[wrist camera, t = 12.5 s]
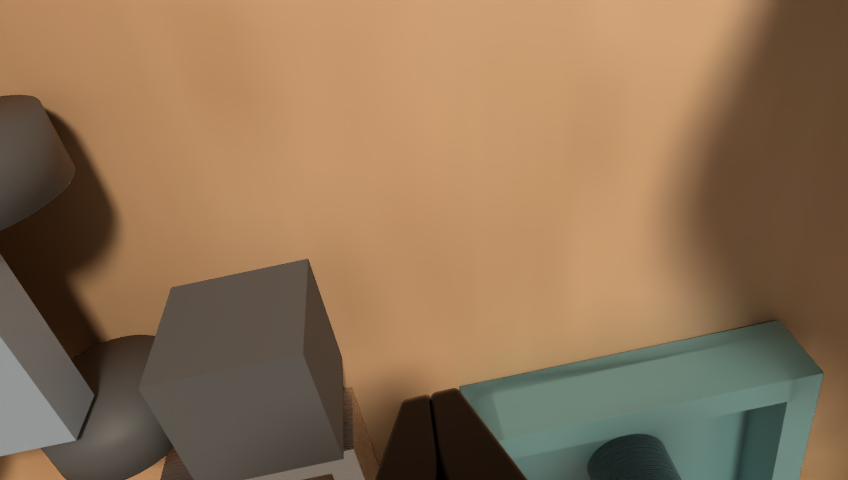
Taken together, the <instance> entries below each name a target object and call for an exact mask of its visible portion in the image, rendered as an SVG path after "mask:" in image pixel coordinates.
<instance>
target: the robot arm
mask: <svg viewBox="0 0 848 480" xmlns="http://www.w3.org/2000/svg"><path fill="white" fill-rule="evenodd" d="M375 480H528V479H527V478H526V477H525V475H524V474H523V473H522V472H521V470H520V469H519V468H518V466H517V465H516V464H515V462H514V461H513V460H512V458H511V457H510V456H509V455H508V453H507V452H506V451H505V449H504V448H503V447H502V445H501V444H500V443H499V441H498V440H497V439H496V438H495V436H494V435H493V434H492V432H491V431H490V430H489V428H488V427H487V426H486V424H485V423H484V422H483V421H482V419H481V418H480V417H479V415H478V414H477V413H476V411H475V410H474V409H473V407H472V406H471V405H470V404H469V402H468V401H467V400H466V398H465V397H464V396H463V394H462V393H461V392H460V391H459V390H458V389H456V388H452V389H448V390H444V391H439V392H435V393H433V394H432V396H431V398H430V397H429V396H428V395H423V396H419V397H414V398H410V399H406V400H404V401H403V402H402V404H401V406H400V409H399V412H398V415H397V418H396V421H395V423H394V426H393V429H392V432H391V435H390V438H389V441H388V444H387V446H386V449H385V452H384V455H383V458H382V461H381V464H380V466H379V469H378V472H377V475H376V478H375Z"/></svg>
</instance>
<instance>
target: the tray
mask: <svg viewBox="0 0 848 480" xmlns="http://www.w3.org/2000/svg"><path fill="white" fill-rule="evenodd" d="M823 375H824V373H823V371H822V370H821V369H820V368H819V367H818V366H817V364H816V363H815V362H814V361H813V360H812V358H811V357H810V356H809V355H808V354H807V353H806V351H805V350H804V349H803V348H802V347H801V346H800V344H799V343H798V342H797V341H796V340H795V338H794V337H793V336H792V335H791V334H790V333H789V331H788V330H787V329H786V328H785V327H784V326H783V324H782V323H781V322H780V321H779V320H777V321H772V322H767V323H762V324H758V325H753V326H748V327H743V328H738V329H734V330H729V331H724V332H719V333H715V334H710V335H705V336H700V337H695V338H691V339H686V340H681V341H676V342H671V343H667V344H662V345H657V346H652V347H648V348H643V349H638V350H633V351H628V352H624V353H619V354H614V355H609V356H605V357H600V358H595V359H590V360H585V361H581V362H576V363H571V364H566V365H561V366H557V367H552V368H547V369H542V370H538V371H533V372H528V373H523V374H518V375H514V376H509V377H504V378H499V379H495V380H490V381H485V382H480V383H475V384H471V385H466V386H461V387H460V390H461V393H462V394H463V396H464V397H465V398H466V400H467V401H468V402H469V404H470V405H471V406H472V407H473V409H474V410H475V411H476V413H477V414H478V415H479V417H480V418H481V419H482V421H483V422H484V423H485V424H486V426H487V427H488V428H489V430H490V431H491V432H492V434H493V435H494V436H495V438H496V439H497V440H498V441H499V443H500V444H501V445H502V447H503V448H504V449H505V451H506V452H507V453H508V455H509V456H510V457H511V458H512V460H513V461H514V462H515V464H516V465H517V466H518V468H519V469H520V470H521V472H522V473H523V474H524V475H525V477H526V478H527V479H528V480H590V477H589V475H588V472H587V465H588V461H589V459H590V457H591V456H592V454H593V453H594V452H595V451H596V450H597V449H598V448H599V447H601V446H602V445H603V444H605V443H607V442H608V441H610V440H613V439H615V438H618V437H621V436H626V435H630V434H647V435H651V436H654V437H656V438H658V439H659V440H661V441H662V443H663V444H664V446H665V448H666V450H667V452H668V454H669V456H670V458H671V459H672V461H673V463H674V465H675V467H676V469H677V471H678V473H679V475H680V477H681V479H682V480H799V477H800V472H801V468H802V464H803V460H804V455H805V451H806V447H807V443H808V438H809V434H810V430H811V426H812V422H813V417H814V413H815V409H816V405H817V400H818V396H819V392H820V388H821V383H822V379H823Z"/></svg>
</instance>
